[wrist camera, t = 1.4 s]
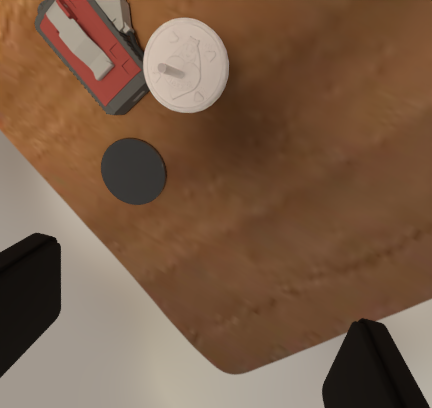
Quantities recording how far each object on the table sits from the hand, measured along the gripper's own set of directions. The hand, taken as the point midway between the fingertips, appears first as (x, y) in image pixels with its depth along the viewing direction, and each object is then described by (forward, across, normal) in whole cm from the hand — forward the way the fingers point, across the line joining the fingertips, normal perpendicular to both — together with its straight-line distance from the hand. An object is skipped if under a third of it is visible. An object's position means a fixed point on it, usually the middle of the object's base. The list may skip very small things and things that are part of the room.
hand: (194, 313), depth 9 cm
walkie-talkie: (+25, +19, -11) cm, 33 cm away
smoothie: (+25, +6, -8) cm, 27 cm away
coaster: (+25, +13, +4) cm, 28 cm away
